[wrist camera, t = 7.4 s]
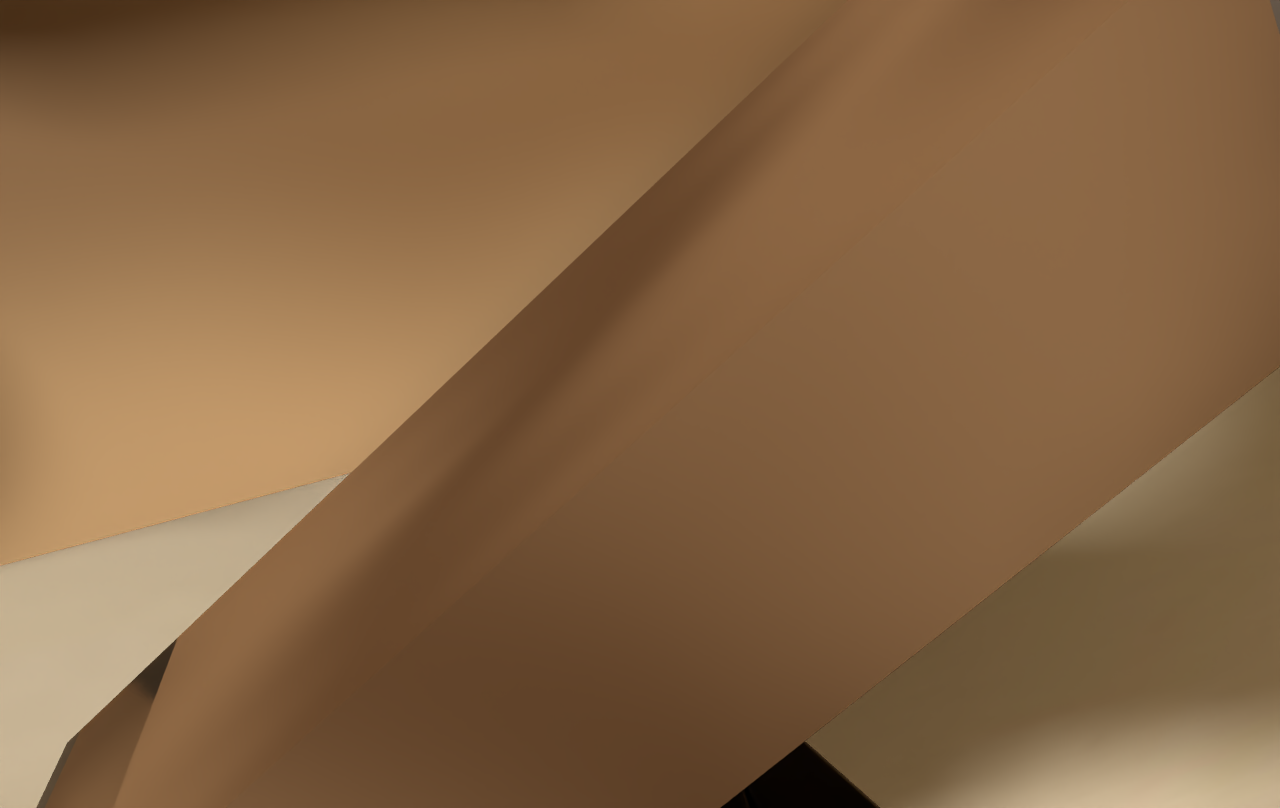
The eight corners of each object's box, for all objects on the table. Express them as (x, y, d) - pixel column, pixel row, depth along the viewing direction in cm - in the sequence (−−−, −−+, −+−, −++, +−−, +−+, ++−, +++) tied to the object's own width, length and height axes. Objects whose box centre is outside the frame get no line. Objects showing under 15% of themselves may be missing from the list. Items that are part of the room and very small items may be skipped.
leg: (1239, -391, 6) (1955, -734, 3) (1329, -25, 7) (1857, -36, 4) (56, 739, 7) (-139, 1138, 5) (321, 843, 9) (280, 1193, 6)
